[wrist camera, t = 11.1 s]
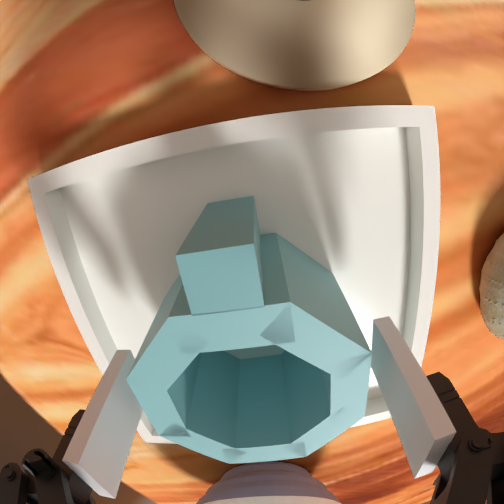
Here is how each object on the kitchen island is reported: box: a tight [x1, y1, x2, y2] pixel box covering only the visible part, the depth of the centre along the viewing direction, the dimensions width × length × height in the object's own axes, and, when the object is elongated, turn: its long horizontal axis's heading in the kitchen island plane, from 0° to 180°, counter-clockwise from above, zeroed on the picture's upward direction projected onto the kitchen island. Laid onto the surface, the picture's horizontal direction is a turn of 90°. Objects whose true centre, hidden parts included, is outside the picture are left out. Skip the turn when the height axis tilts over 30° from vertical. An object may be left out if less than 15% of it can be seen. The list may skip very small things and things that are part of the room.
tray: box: [27, 105, 440, 444], centre depth 16 cm, size 20×20×2 cm
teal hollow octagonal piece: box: [126, 196, 372, 464], centre depth 13 cm, size 9×11×6 cm
